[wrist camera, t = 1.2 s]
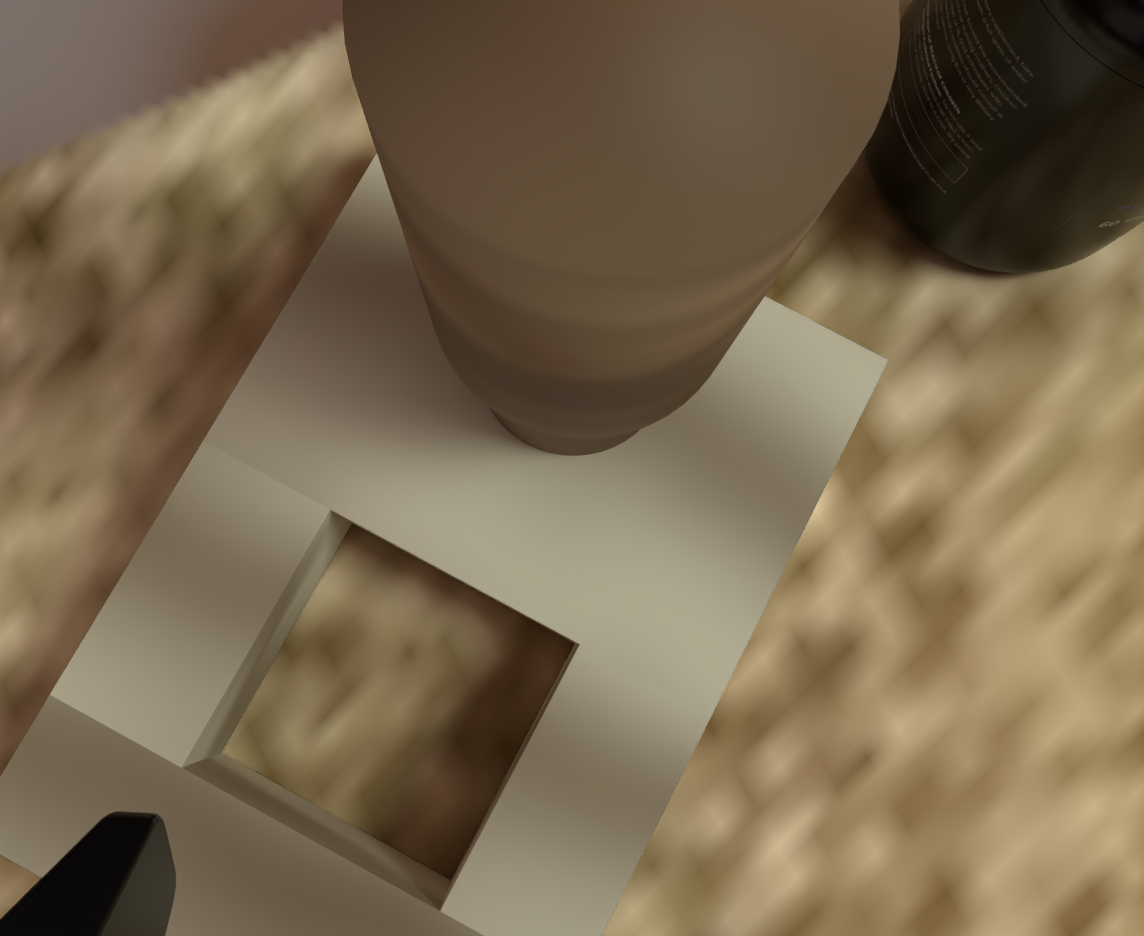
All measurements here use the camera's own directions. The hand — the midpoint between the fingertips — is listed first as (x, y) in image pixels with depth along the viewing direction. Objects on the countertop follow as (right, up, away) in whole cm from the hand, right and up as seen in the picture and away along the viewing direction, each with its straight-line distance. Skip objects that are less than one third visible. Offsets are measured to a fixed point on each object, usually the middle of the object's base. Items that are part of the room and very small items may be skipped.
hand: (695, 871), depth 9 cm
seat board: (-3, +1, +14) cm, 14 cm away
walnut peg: (-1, +6, +12) cm, 13 cm away
